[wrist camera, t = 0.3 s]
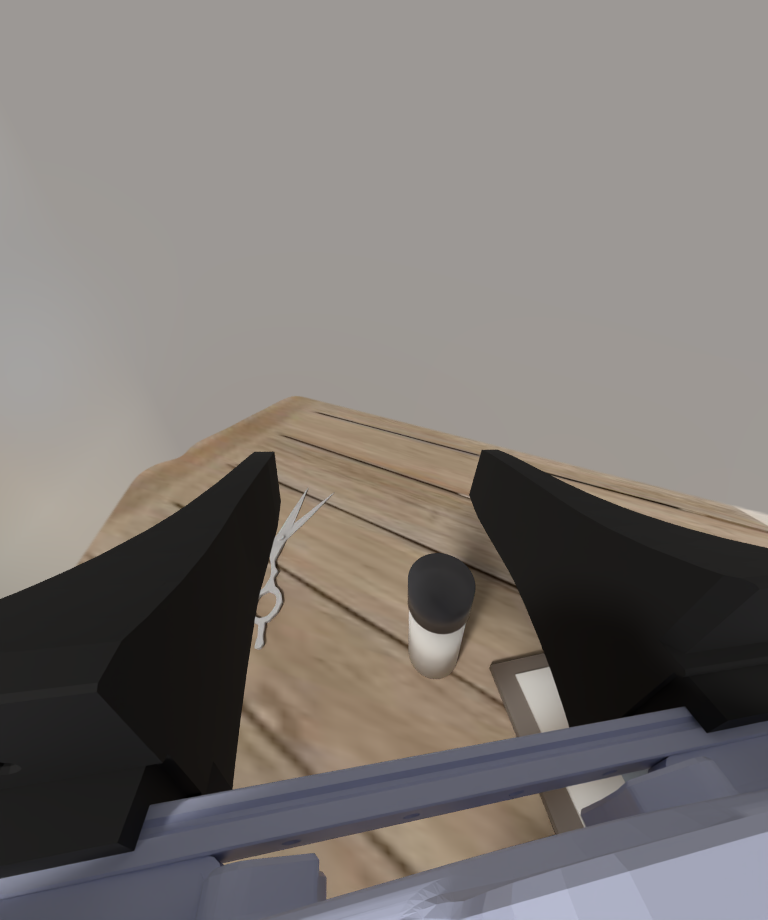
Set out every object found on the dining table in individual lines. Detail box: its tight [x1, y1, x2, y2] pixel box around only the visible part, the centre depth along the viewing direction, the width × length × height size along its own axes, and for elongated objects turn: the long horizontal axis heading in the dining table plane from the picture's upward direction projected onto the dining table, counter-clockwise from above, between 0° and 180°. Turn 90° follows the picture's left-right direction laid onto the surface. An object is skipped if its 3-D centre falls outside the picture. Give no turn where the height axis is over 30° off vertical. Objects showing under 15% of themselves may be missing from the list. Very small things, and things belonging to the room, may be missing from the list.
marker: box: [408, 553, 475, 679], centre depth 22 cm, size 4×4×10 cm
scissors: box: [254, 488, 333, 649], centre depth 35 cm, size 11×1×20 cm
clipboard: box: [490, 653, 648, 835], centre depth 19 cm, size 14×16×2 cm
